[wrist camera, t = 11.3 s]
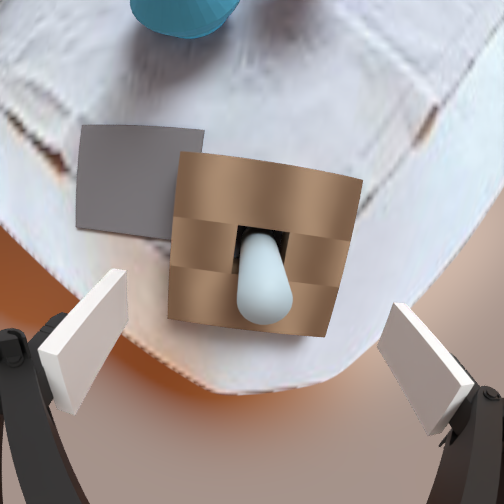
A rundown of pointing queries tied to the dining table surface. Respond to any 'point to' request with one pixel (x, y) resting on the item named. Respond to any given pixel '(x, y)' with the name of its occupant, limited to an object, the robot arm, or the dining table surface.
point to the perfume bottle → (183, 16)
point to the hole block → (261, 216)
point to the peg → (262, 279)
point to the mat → (130, 177)
